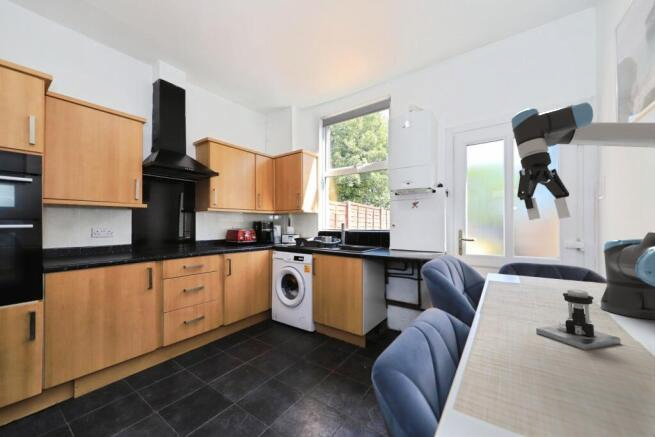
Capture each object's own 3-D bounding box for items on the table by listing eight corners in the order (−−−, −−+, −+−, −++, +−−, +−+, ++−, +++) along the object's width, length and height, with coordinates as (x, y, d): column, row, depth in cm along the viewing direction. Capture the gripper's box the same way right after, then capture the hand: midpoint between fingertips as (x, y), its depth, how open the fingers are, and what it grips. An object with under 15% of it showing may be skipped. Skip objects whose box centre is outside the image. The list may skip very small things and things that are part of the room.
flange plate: (568, 328, 68) (568, 323, 68) (620, 343, 58) (620, 338, 59) (536, 333, 65) (536, 328, 65) (585, 350, 55) (585, 344, 55)
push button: (555, 331, 63) (553, 290, 64) (560, 326, 66) (558, 287, 67) (594, 339, 58) (591, 295, 58) (597, 334, 61) (594, 291, 62)
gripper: (547, 161, 91) (562, 219, 87) (495, 159, 84) (509, 222, 80) (572, 152, 84) (590, 214, 80) (517, 148, 77) (534, 217, 73)
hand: (550, 218), depth 80 cm, fingers open, 13 cm apart
